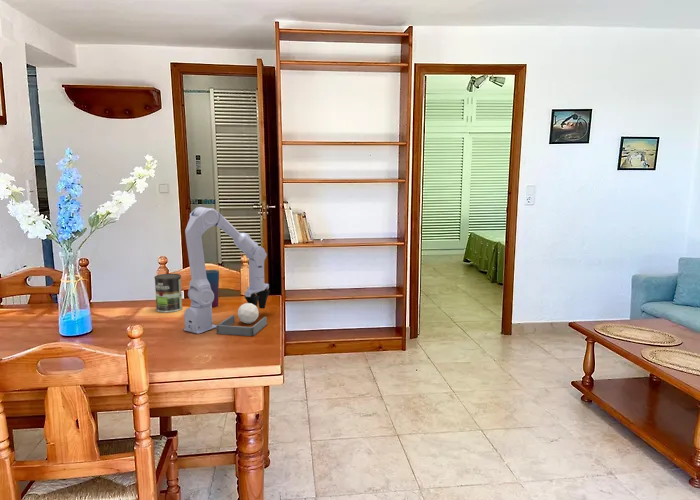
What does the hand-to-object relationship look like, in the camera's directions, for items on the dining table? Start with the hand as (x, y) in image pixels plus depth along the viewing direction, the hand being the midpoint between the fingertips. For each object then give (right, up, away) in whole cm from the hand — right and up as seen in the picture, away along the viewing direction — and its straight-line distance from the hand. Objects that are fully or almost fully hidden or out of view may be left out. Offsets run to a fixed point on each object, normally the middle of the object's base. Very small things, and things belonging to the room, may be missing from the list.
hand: (257, 310), depth 197 cm
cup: (-23, 0, +17) cm, 28 cm away
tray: (-3, -5, -15) cm, 16 cm away
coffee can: (-39, -1, +11) cm, 40 cm away
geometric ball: (-2, -4, -7) cm, 8 cm away
